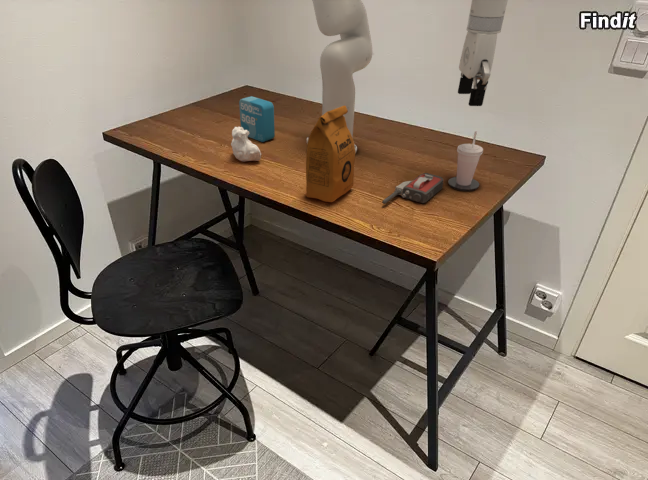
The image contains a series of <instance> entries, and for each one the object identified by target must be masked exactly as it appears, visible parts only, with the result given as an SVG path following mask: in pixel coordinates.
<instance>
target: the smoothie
mask: <svg viewBox="0 0 648 480" xmlns="http://www.w3.org/2000/svg"><path fill="white" fill-rule="evenodd" d="M477 135H478V131H476V130H475V131H474V133H473V138H472V143H462V144H459V145H458V146H457V149H456V152H457V160H456V161H457V163H456V177H457V180H456V183H457V184H459V185H463V186H467V185H470V184H471V181H472V179H474V176H475V172H476V169H477V167H478V164H479V161H480V159H481V155H483V153H484V148H483V147H482V146H481V145H478V144H476V141H477V140H476V139H477Z"/></svg>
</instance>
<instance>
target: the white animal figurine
mask: <svg viewBox="0 0 648 480" xmlns="http://www.w3.org/2000/svg"><path fill="white" fill-rule="evenodd" d="M249 134H250V133H249V131H247V130H244V129H243V127H241V126H234V127H233V128H232V130H231V136H232V140H231V143H230V146H231V148H232V149H231V151H232V154H233V156H234V157H235V158H236V159H237V160H238V161H240V162H244V163H245V162H252V161H253V162H259V161H261V159H262V152H261V150H260V148H259V146H258V145H257V144H256V143H255V144H254V143H253V142H252V141H251V140H250V139H249V137H248V135H249Z"/></svg>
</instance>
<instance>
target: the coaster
mask: <svg viewBox="0 0 648 480" xmlns="http://www.w3.org/2000/svg"><path fill="white" fill-rule="evenodd" d="M456 180H457V176H453V177H451V178H449V179H448V180H447V185H448V186H449V188H451V189H452V190H455V191H459V192H473V191H476V190H479V188H480V183H479V181H478V180H476V179H474V178H472V181H471V184H470V185H467V186H463V185H459V184H457V183H456Z"/></svg>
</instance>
